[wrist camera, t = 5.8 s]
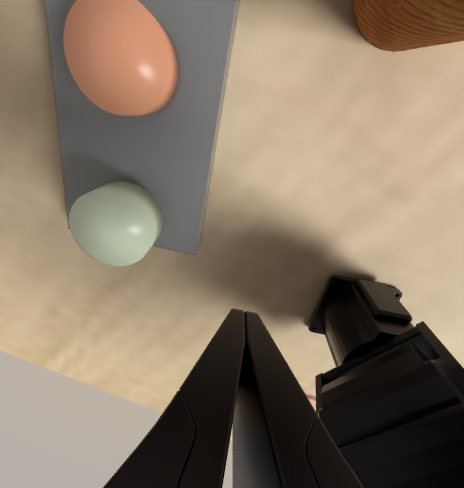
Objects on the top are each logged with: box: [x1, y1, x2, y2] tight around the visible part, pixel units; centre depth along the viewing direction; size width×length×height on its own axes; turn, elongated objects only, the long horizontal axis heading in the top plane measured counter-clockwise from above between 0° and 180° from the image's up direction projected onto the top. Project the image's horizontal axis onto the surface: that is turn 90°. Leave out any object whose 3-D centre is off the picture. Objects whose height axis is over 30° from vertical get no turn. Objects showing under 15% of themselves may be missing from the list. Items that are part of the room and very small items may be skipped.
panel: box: [45, 0, 240, 255], centre depth 15 cm, size 23×10×2 cm, turn 168°
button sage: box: [69, 181, 163, 266], centre depth 16 cm, size 5×5×2 cm
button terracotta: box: [63, 0, 180, 116], centre depth 13 cm, size 5×5×2 cm
